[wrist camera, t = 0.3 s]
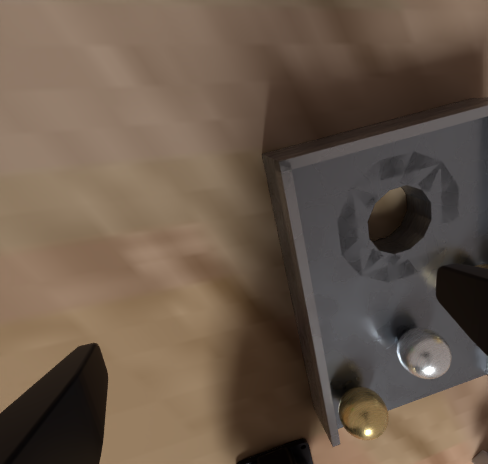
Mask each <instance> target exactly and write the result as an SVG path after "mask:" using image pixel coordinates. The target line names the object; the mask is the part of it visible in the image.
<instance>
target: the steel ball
mask: <svg viewBox="0 0 488 464" xmlns="http://www.w3.org/2000/svg"><path fill="white" fill-rule="evenodd" d="M397 355H398V358H399V361H400V362H401V364H402V366H403V367H404V368H405V369H406V370H407V371H408V372H409V373H411V374H412V375H414V376H416V377H419V378H423V379H434V378H438V377H440V376H442V375H443V374H444V373H445V372H446V371H447V370H448V369H449V367H450V365H451V361H452V354H451V349H450V347H449V345H448V343H447V341H446V340H445V339H444V338H443V337H442V336H441V335H440V334H438V333H437V332H435V331H433V330H431V329H428V328H422V327H418V328H413V329H410V330H408V331H406V332H405V333H404V334H403V335H402V336H401V337H400V339H399V341H398V344H397Z"/></svg>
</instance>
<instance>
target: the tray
mask: <svg viewBox="0 0 488 464" xmlns="http://www.w3.org/2000/svg"><path fill="white" fill-rule="evenodd" d="M262 158H263V163H264V167H265V172H266V177H267V182H268V187H269V192H270V197H271V201H272V206H273V211H274V216H275V221H276V226H277V231H278V236H279V240H280V245H281V250H282V255H283V260H284V265H285V270H286V274H287V279H288V284H289V289H290V294H291V299H292V304H293V309H294V313H295V318H296V323H297V328H298V333H299V338H300V343H301V347H302V352H303V357H304V362H305V367H306V372H307V377H308V382H309V386H310V391H311V396H312V401H313V406H314V409H315V411H316V413H317V415H318V417H319V419H320V421H321V424H322V426H323V428H324V430H325V432H326V434H327V436H328V438H329V440H330V442H331V444H332V446H333V447H334V446H337V445H339V444H340V440H339V434H338V429H339V428H342V427H344V426H343V425H342V423H341V421H340V418H339V413H338V406H339V401H340V399H341V397H342V395H343V394H344V393H345V392H346V391H347V390H349V389H351V388H354V387H366V388H369V389H371V390H373V391H374V392H376V393H377V394H378V395H379V396H380V397H381V398H382V400H383V401H384V403H385V405H386V407H387V410H391V409H394V408H396V407H399V406H402V405H404V404H407V403H410V402H413V401H415V400H418V399H421V398H424V397H426V396H429V395H432V394H434V393H437V392H440V391H443V390H445V389H448V388H451V387H453V386H456V385H459V384H462V383H464V382H467V381H470V380H473V379H475V378H478V377H481V376H483V375H488V356H487V355H486V354H485V353H484V352H483V351H482V350H481V349H480V348H479V347H478V346H477V345H476V344H475V343H474V342H473V341H472V340H471V339H470V338H469V336H468V335H467V334H466V333H465V332H464V331H463V330H462V328H461V327H460V326H459V325H458V324H457V323H456V321H455V320H454V319H453V318H452V317H451V316H450V315H449V313H448V312H447V311H446V310H445V309H444V308H443V307H442V305H441V304H440V303H439V302H438V300H437V298H436V277H437V270H438V268H439V267H440V266H443V265H448V264H453V263H456V264H462V265H469V266H476V265H480V264H488V97H487V98H472V99H468V100H464V101H460V102H457V103H453V104H449V105H445V106H442V107H438V108H434V109H430V110H426V111H423V112H419V113H415V114H411V115H408V116H404V117H400V118H396V119H393V120H389V121H385V122H381V123H377V124H374V125H370V126H366V127H362V128H359V129H355V130H351V131H347V132H343V133H340V134H336V135H332V136H328V137H325V138H321V139H317V140H313V141H309V142H306V143H302V144H298V145H294V146H291V147H287V148H283V149H279V150H275V151H272V152H268V153H264V154H262ZM398 187H401V188H402V189H403V190H404V192H405V193H406V194H407V212H406V215H405V217H404V219H403V221H402V224H401V226H400V227H399V228H398V229H396V230H395V231H394V232H393V233H392V234H391V235H390V236H389V237H386V238H383V239H380V240H377V241H371V240H370V239H369V231H368V219H369V217H370V214H371V212H372V209H373V207H374V205H375V203H376V202H377V201H378V200H379V199H380V198H381V197H383V196H384V195H385V194H386V193H387V192H388V191H389V190H392V189H395V188H398ZM418 327H422V328H428V329H431V330H433V331H435V332H437V333H438V334H440V335H441V336H442V337H443V338H444V339H445V340H446V341H447V343H448V345H449V347H450V349H451V354H452V361H451V365H450V367H449V369H448V370H447V371H446V372H445V373H444V374H443V375H442V376H440V377H438V378H434V379H423V378H419V377H416V376H414V375H412V374H411V373H409V372H408V371H407V370H406V369H405V368H404V367H403V366H402V364H401V362H400V361H399V358H398V355H397V344H398V341H399V339H400V337H401V336H402V335H403V334H404V333H405V332H406V331H408V330H410V329H413V328H418Z"/></svg>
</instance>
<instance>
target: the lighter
mask: <svg viewBox="0 0 488 464" xmlns="http://www.w3.org/2000/svg"><path fill="white" fill-rule="evenodd" d="M472 462H473V463H474V464H488V453H487V452H486V451H484V450H482V451H481V452H480V453H479V454H478V455H477V456H476V457H475V458H474V459H472Z"/></svg>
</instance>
